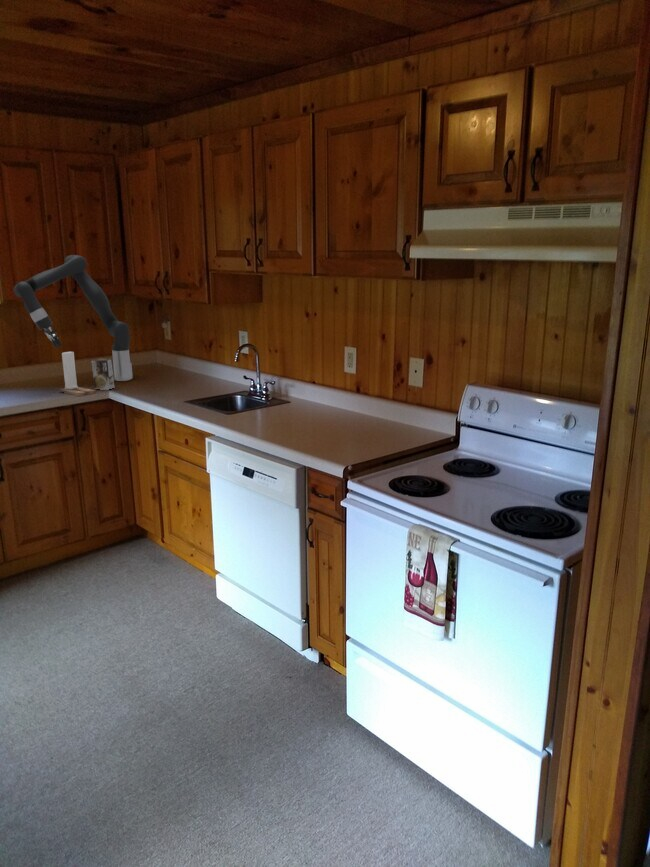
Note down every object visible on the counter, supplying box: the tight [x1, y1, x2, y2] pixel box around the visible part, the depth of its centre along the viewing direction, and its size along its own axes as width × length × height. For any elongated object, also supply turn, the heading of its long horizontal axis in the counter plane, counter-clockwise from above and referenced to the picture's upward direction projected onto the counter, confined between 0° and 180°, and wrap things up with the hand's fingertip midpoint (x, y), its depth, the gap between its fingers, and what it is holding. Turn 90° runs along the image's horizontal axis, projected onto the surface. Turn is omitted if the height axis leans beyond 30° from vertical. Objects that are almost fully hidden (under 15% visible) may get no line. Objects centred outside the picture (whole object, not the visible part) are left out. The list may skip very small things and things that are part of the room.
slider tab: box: [61, 351, 79, 389], centre depth 346 cm, size 5×4×19 cm
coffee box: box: [91, 358, 116, 391], centre depth 354 cm, size 9×6×16 cm
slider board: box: [58, 386, 97, 397], centre depth 347 cm, size 10×17×2 cm, turn 56°
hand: (59, 346), depth 344 cm, fingers open, 8 cm apart
